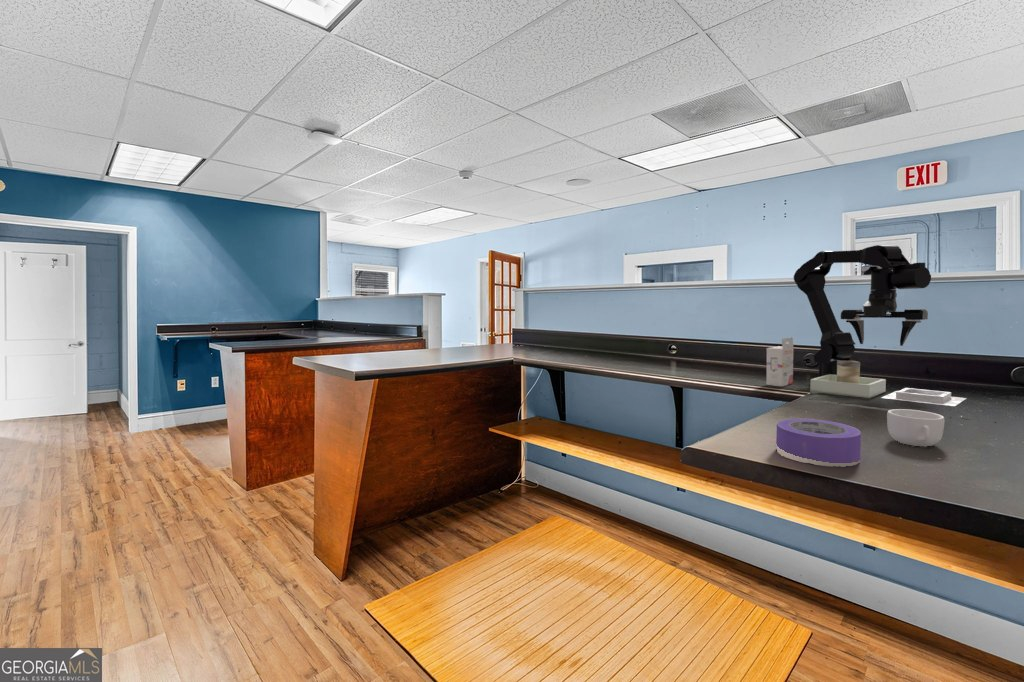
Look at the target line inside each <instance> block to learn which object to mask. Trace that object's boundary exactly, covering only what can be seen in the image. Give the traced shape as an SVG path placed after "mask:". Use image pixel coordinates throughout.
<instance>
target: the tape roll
mask: <svg viewBox="0 0 1024 682" xmlns="http://www.w3.org/2000/svg"><path fill="white" fill-rule="evenodd" d="M775 437H776V441H775V442H776V443H775V444H777V446H778V447H779V448H780V449H782V450H784V451H785V452H787V453H790V454H793V455H795V456H799V457H802V458H807V459H812V460H816V461H822V462H829V463H852V462H858V461H859V460H860V461H861V446H862V445H861V444H862V443H861V442H862V440H861V439H862V432H861V430H860V429H858V428H856V427H854V426H851V425H848V424H845V423H842V422H841V423H840V422H836V421H830V420H824V419H814V418H787V419H781V420H779V421H778V422H776V436H775Z"/></svg>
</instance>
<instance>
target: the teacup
mask: <svg viewBox="0 0 1024 682" xmlns="http://www.w3.org/2000/svg"><path fill="white" fill-rule="evenodd" d="M886 423H887V430H888V433H889V435H890V437H892V439H893V440H895V441H896V442H897V441H898V442H897V443H899V442H900V443H899V444H901V443H904V444H908V445H914V446H930V447H932V446H934V445H936V444H938V442H940V440H941V439H942V438H943V434H944V429H945V417H944V416H943V415H942V414H938V413H935V412H930V411H924V410H918V409H907V408H905V409H904V408H903V409H902V408H898V409H897V408H895V409H888V411H887V413H886ZM904 444H903V445H904ZM908 445H907V446H908ZM914 446H913V447H914Z"/></svg>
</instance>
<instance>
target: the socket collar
mask: <svg viewBox="0 0 1024 682" xmlns="http://www.w3.org/2000/svg"><path fill="white" fill-rule="evenodd" d="M880 398H881V399H887V400H888V399H889V400H897V401H905V402H913V403H921V404H922V403H923V404H932V405H938V406H939V405H940V406H949V407H956V406H958V405H959V404H961V403H962V402H963V401H965V400H967V397H959V396H952V392H951V391H941V390H932V389H931V390H930V389H920V388H913V387H911V388H910V387H903V388H902V389H901V390H895V391H893V392H891V393H889V394H886V395H884V396H882V397H880Z"/></svg>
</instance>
